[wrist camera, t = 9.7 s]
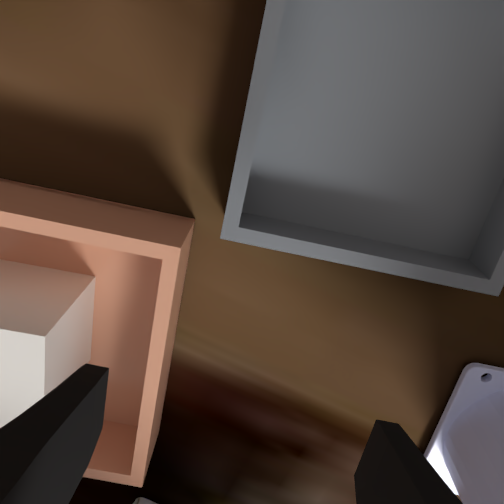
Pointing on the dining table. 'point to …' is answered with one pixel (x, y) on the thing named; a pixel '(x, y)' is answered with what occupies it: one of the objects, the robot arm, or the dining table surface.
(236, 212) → the tray
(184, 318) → the dining table surface
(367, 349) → the dining table surface
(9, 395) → the white cube
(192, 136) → the dining table surface
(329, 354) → the dining table surface
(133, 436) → the bin
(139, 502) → the coffee box
